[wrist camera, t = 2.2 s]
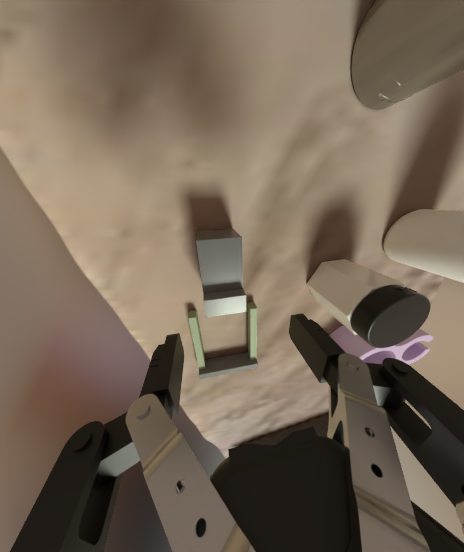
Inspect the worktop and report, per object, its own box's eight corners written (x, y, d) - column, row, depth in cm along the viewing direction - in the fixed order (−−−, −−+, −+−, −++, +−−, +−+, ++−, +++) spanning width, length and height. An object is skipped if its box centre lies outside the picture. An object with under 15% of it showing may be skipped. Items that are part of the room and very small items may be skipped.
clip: (397, 301, 36) (438, 322, 30) (392, 338, 42) (425, 362, 36) (314, 336, 36) (337, 364, 30) (320, 368, 42) (340, 397, 36)
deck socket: (189, 310, 28) (187, 322, 25) (253, 301, 29) (259, 311, 27) (200, 364, 34) (199, 379, 31) (253, 354, 35) (257, 367, 32)
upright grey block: (197, 231, 23) (195, 244, 16) (232, 228, 23) (245, 240, 17) (205, 287, 27) (206, 317, 20) (235, 283, 27) (246, 311, 20)
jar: (354, 284, 32) (432, 327, 21) (317, 307, 32) (374, 359, 22) (342, 247, 28) (431, 278, 17) (300, 275, 29) (360, 320, 18)
